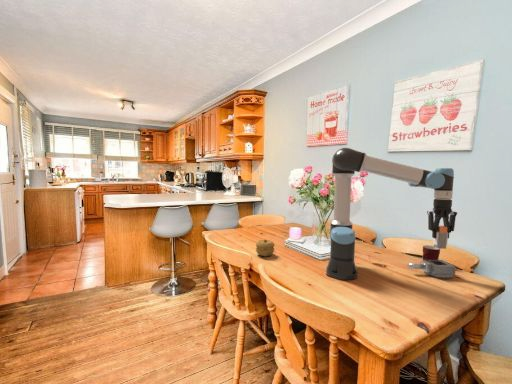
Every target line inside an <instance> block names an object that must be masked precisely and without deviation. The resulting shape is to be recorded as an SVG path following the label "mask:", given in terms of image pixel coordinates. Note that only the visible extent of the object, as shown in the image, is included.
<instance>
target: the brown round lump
mask: <svg viewBox="0 0 512 384" xmlns="http://www.w3.org/2000/svg"><path fill="white" fill-rule="evenodd" d="M255 246H256V247H255V251H256V253H257V255H259V256H261V257H270V256H271V255H273V254H274V252H275V248H274V247H275V243H274V242H273V241H272V240H270V239H266V238H265V239H264V238H263V239H260V240H258V241H257V242H256V243H255Z"/></svg>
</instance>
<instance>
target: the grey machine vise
mask: <svg viewBox="0 0 512 384" xmlns="http://www.w3.org/2000/svg"><path fill="white" fill-rule="evenodd" d="M407 268H408V269H414V270H416V269H417V270H422V271H423V273H424V274H425V275H427V276H429V277H431V276H432V278H434V279H435V278H436V279H439V278H440V279H441V280H452V279H453V275H454V276H455V275H456V270H457V269H456V268H457V267H456V266H455V265H453V264H451V263H448V262H447V261H445V260H443V259H438V260H424V259H423V258H422V261H420V263H407Z"/></svg>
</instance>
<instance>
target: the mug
mask: <svg viewBox="0 0 512 384" xmlns="http://www.w3.org/2000/svg"><path fill="white" fill-rule="evenodd" d="M440 255H441V249H439V248H436V247H434V245H427V244H426V245H425V244H424V245H422V257H421V258H422V260H423V259H424V260H439V257H440Z"/></svg>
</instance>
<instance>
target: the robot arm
mask: <svg viewBox="0 0 512 384" xmlns="http://www.w3.org/2000/svg"><path fill="white" fill-rule="evenodd" d="M331 159H332V160H331V162H332V167H331V168H332V172H331V173H332V175H333V177H334V192H333V193H334V197H333V219H332V220H331V221H330V231H329V239H330V255H329V256H330V257H329V260H328V263H327V266H326V269H325V270H326V274H327V276H329V277H331V278H333V279H337V280H341V281H352V280H355V279H357V278H358V268H357V266H356V263H355V251H356V249H355V248H356V232H355V230H354V229H353V222H352V221H351V220H350V219H351V201H352V200H351V199H352V177H353V176H355V172H357V173H361V172H365V173H369V174H374V175H377V176H381V177H385V178H389V179H392V180H397V181H401V182H404V183H407V185H408V186H409V187H415V188H416V187H419V188H428V189H431V190H433V198H434V199H433V208H432V209H431V210H427V211H426V213H427V216H428V223H427V224H428V230H429V231H431V232H432V233H431V234H432V235H431V236H432V238H433V243H432V244H433V245H434V244H435V245H438V239H439V232H437V231H438V227H439V226H440V222H441V219H442V222H443V226H445V227H447V242H446V246H447V245H448V239H450V234H451V233H452V232H454V231H455V227H456V226H455V225H456V217H457V215H458V212H457V211H453V209H452V206H453V200H452V199H453V193H454V191H453V190H454V188H453V187H454V179H455V177H454V176H455V173H454V169H453V168H452V167H451V168H450V167H443V168H441V167H439V168H435V170H434V171H431V170H426V169H423V168H419V167H414V166H410V165H406V164H402V163H398V162H393V161H389V160H387V159H382V158H377V157H373V156H368V155H367V153H365V152H363V151H359V150H355V149H353V148H350V147H342V148H339V149H337V151H336V152H335V153H334V154H333V155H332V158H331Z"/></svg>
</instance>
